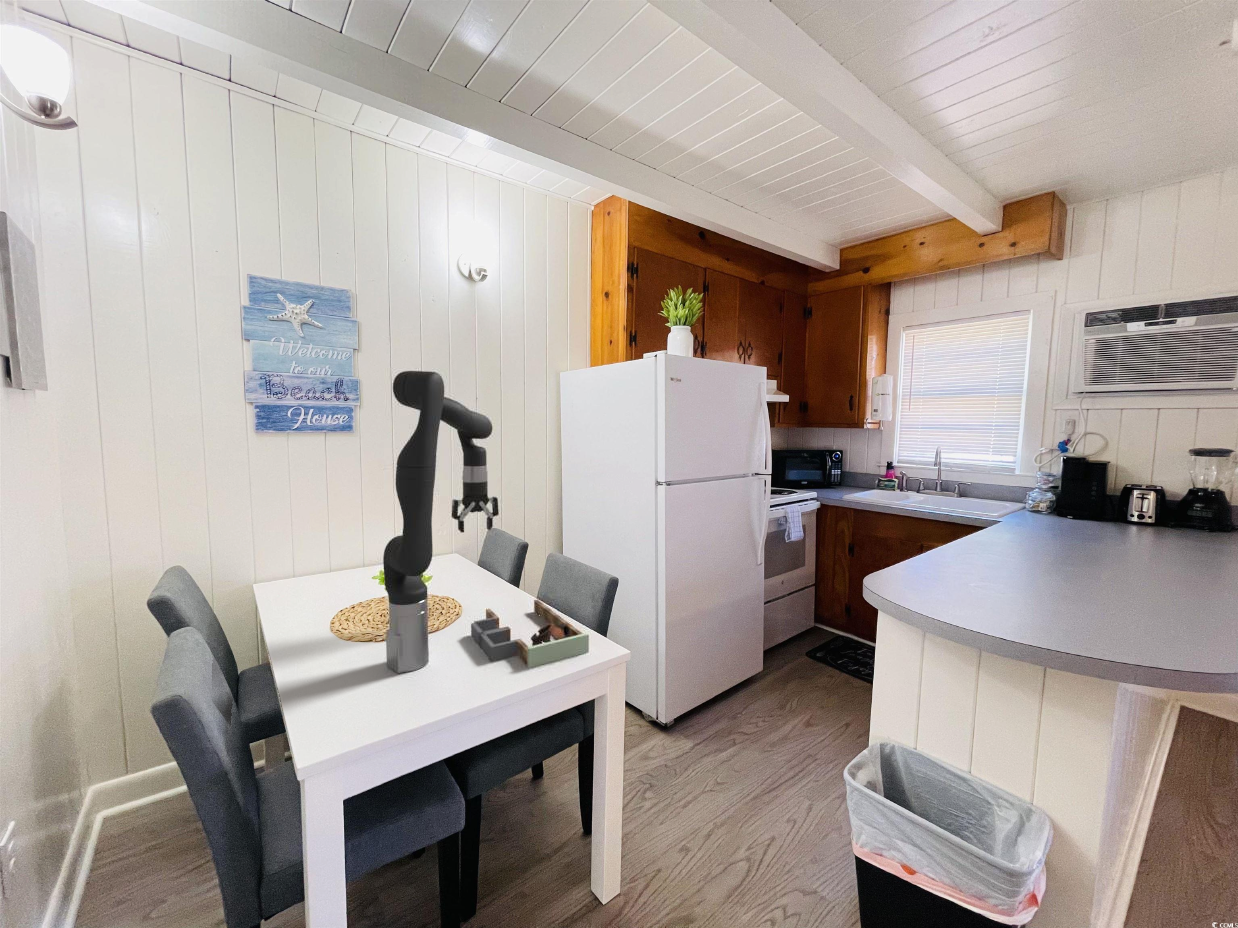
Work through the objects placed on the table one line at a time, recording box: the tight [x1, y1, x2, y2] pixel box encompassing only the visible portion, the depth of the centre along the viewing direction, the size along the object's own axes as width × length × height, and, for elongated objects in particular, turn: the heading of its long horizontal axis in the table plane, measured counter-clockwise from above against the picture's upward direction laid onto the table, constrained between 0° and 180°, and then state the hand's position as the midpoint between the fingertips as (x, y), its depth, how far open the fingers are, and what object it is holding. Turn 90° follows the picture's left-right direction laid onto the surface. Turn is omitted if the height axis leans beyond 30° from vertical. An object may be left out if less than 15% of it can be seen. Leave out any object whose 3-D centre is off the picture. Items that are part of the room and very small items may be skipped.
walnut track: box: [485, 599, 584, 666], centre depth 149 cm, size 34×17×4 cm, turn 32°
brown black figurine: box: [530, 623, 570, 646], centre depth 141 cm, size 12×10×8 cm
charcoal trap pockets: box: [470, 617, 518, 663], centre depth 143 cm, size 19×7×4 cm, turn 32°
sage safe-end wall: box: [526, 632, 590, 669], centre depth 135 cm, size 1×17×5 cm, turn 123°
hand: (475, 530), depth 161 cm, fingers open, 8 cm apart
